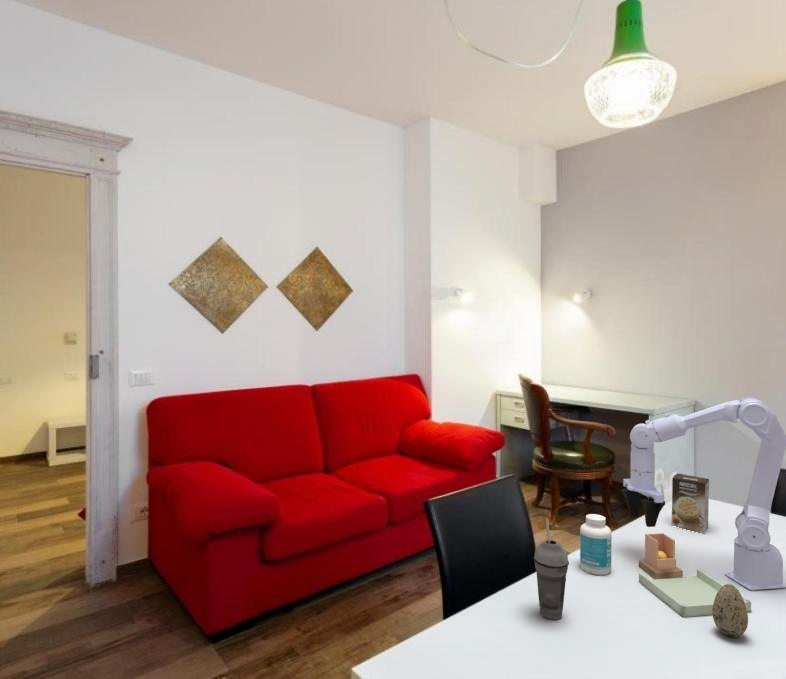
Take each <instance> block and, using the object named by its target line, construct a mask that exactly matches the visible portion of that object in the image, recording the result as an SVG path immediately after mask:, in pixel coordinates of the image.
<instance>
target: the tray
mask: <svg viewBox="0 0 786 679" xmlns="http://www.w3.org/2000/svg"><path fill="white" fill-rule="evenodd" d="M638 583H640V584H641V585H642V586H643V587H645V588H646V589H647V590H648V591H650V592H651V593H652V595H654V596H655V597H657V598H658V599H659V600H661V601H662V602H663V603H664V604H665V605H666V606H668V607H669V608H670V609H672V610H673V611H674V612H676V613H677V614H679V615H680V617H682V618H691V617H703V616H713V614H712V609H713V603H714V600H715V597H716V595H717V593H718V591H719V589H720V588H721V587H722V586H724V585H725V584H724V583H722V582H721V581H720V580H718V579H716V578H715V577H713V576H711V575H710V574H708V573H706V572H705V571H703V570H702V569H701V568H697V569H696V576H689V577H688V576H687V577H684V576H683V578H669V579H650V578H649V577H648V576H647V575H646V574H644V573H643V572H639V573H638ZM741 596H742V598H743V600H744V603H745V606H746V609H747V613H752V601H751V600H750V599H747V598H746V597H745V596H743V595H741Z"/></svg>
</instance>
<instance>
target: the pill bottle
mask: <svg viewBox="0 0 786 679" xmlns="http://www.w3.org/2000/svg"><path fill="white" fill-rule="evenodd" d="M606 523H607V519H606V517H605V516H603V515H601V514H597V513H589V514H586V516H585V523H583V524H581V525H580V528H579V530H580V531H579V562H580V563H579V566H580V568H581V569H582V570H583V571H584V572H585V573H587V574H590V575H595V576H607V575H609V574H610V573H611V572H612V530H611V528H610V527H609V526H608V525H606Z"/></svg>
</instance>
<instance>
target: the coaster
mask: <svg viewBox="0 0 786 679" xmlns="http://www.w3.org/2000/svg"><path fill="white" fill-rule="evenodd" d="M638 567H639V569H641V570H642V571H643V572H645V573H646V574H647V575H648V576H649V577H651V578H652V580H654V579H669V578H684V571H683V570H682V569H680V568H679V567H678V566H676V569H675V570H660V571H657V570H656V569H654V568H653V567H652V566H650V565H649V564H647V563H646V562H645V559H639V560H638Z"/></svg>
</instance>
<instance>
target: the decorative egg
mask: <svg viewBox="0 0 786 679" xmlns="http://www.w3.org/2000/svg"><path fill="white" fill-rule="evenodd" d="M742 596H743V595H742V594H741V592H740V591H739V590H738V588H737V587H736V586H735V585H733V584H730V583H727V584H724V586H722V587H721V588H720V589H719V591H718V593H717V595H716V597H715V600H714V603H713V609H712V614H713V615H712V619H713V622H714V624H715V626H716V628H717V629H718V630H719V631H720V632H721V633H722V634H724V635H726V636H727V637H730V638H731V637H732V638H737V637H739V636H742V635H744V634H745V632H746V631H747V629H748V626H749V615H748V612H747V609H746V606H745V603H744V600H743V598H742Z"/></svg>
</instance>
